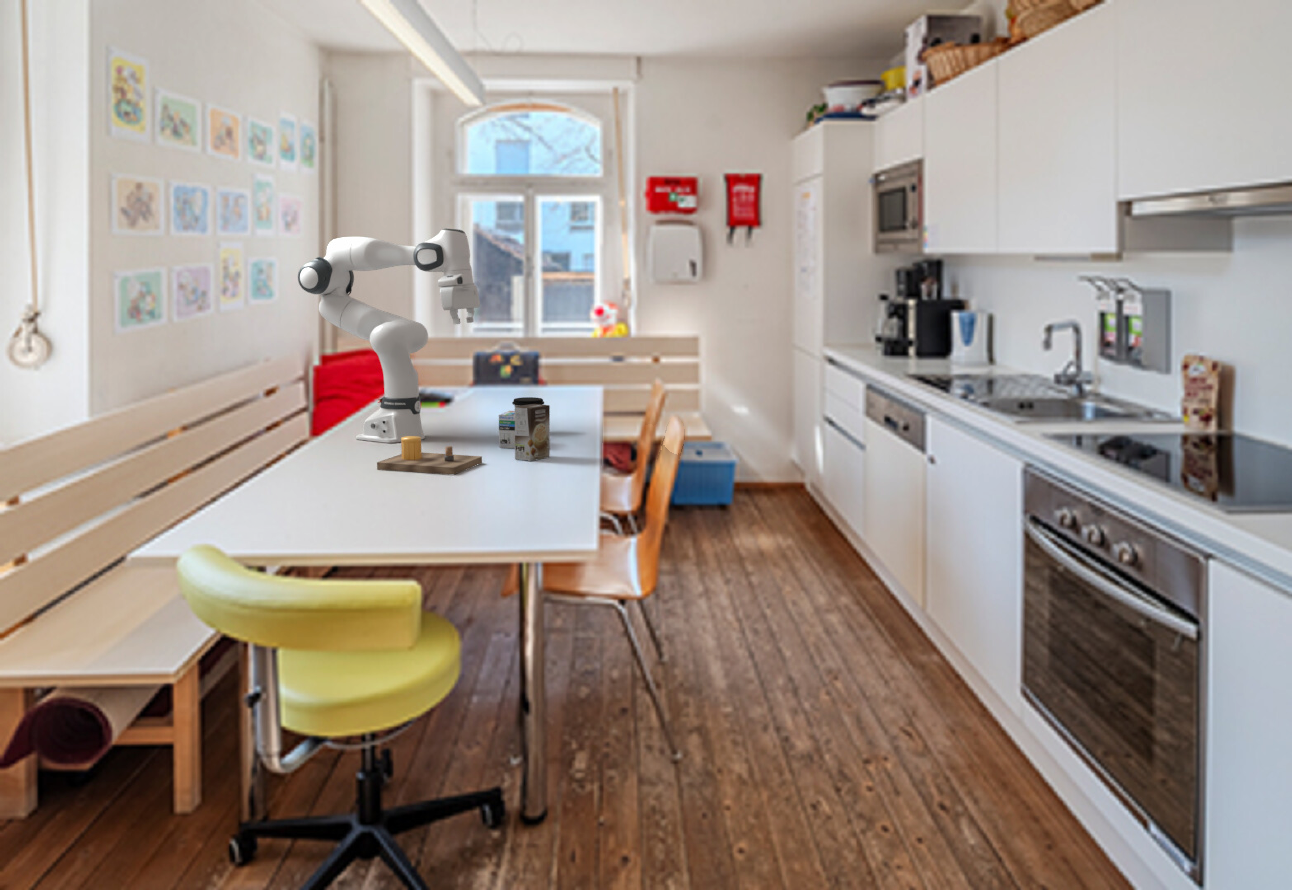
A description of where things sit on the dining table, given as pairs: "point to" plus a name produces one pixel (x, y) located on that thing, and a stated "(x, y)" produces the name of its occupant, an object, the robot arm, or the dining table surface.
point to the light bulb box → (507, 430)
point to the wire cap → (411, 447)
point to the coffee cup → (527, 401)
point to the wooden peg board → (432, 463)
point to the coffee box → (532, 432)
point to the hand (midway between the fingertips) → (463, 323)
